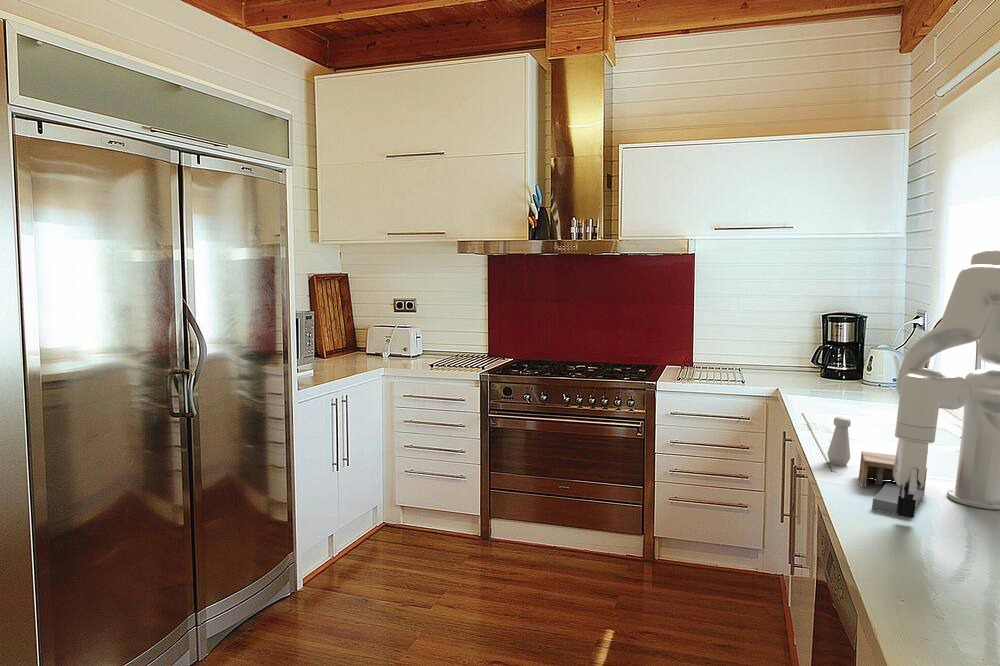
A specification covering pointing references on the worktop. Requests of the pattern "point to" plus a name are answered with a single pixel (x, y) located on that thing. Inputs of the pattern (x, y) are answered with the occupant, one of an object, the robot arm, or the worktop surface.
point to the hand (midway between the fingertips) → (904, 515)
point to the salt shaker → (840, 442)
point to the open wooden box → (878, 468)
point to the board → (892, 498)
